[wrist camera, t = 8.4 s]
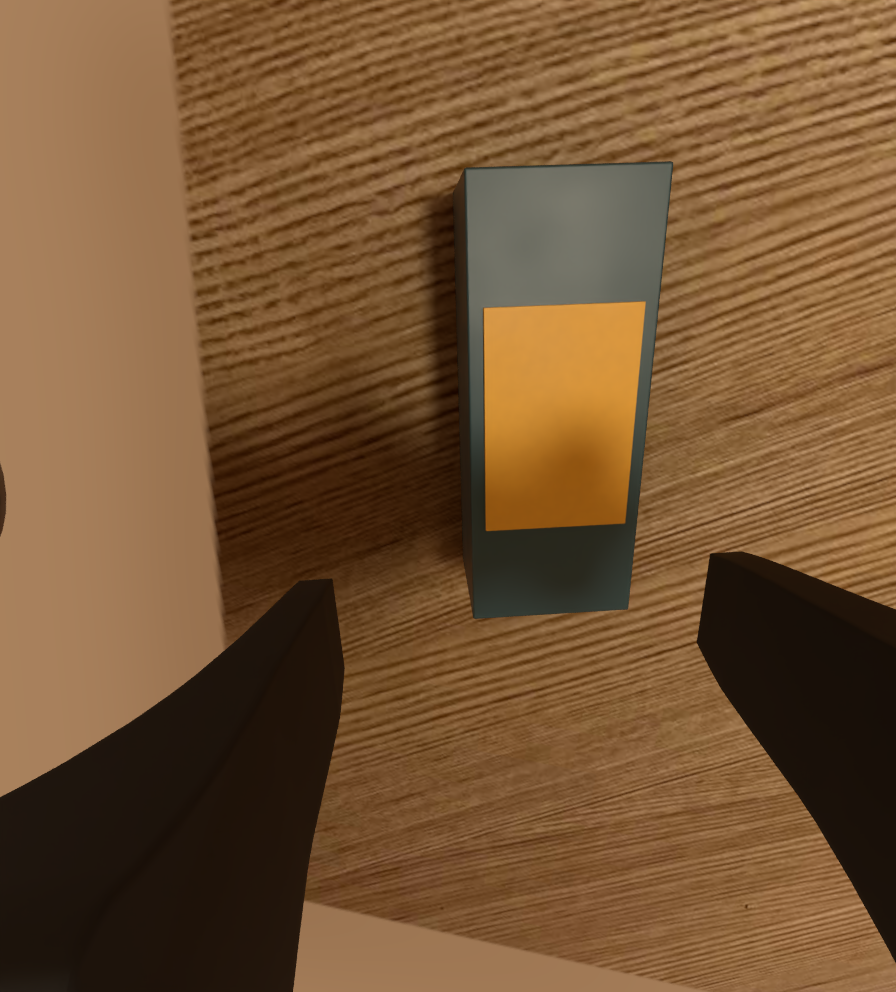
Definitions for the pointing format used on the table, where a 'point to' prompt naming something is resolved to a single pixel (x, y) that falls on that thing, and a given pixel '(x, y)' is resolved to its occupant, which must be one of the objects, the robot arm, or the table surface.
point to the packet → (555, 377)
